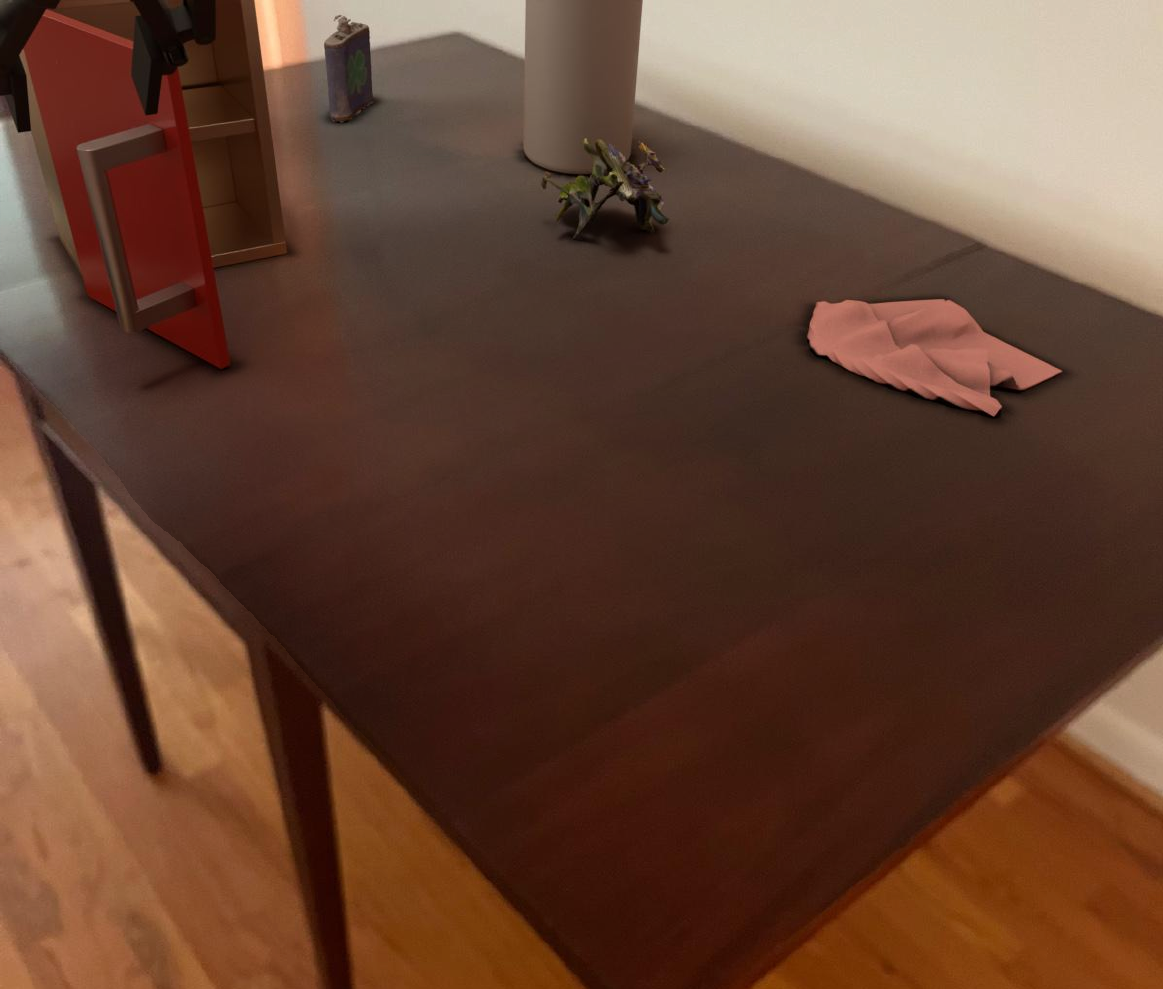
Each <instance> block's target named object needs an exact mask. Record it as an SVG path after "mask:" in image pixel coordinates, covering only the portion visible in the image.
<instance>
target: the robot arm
mask: <svg viewBox="0 0 1163 989" xmlns="http://www.w3.org/2000/svg"><path fill="white" fill-rule="evenodd" d="M130 1H131V2H132V1H133V3H134V4H135V6H136V8H137V9H138V11H139V12H140V14H141V16H135V27H134V41H133V54H132V67H131V76H132V79H133V82H134V85H135V88H136V90H137V93H138V96H139V99H140V102H141V104H142V107H143V110H144V113H145V116H146V115H153V114H157V113H158V105H159V97H160V89H161V81H162V75H170V74H173V73H174V72H175V71H176V70H177V67H180V66H183V65H185V64H186V63H187V62H188V56H187V54H186V51H185V48H184V45H183V44H184V43H186V42H188V41H190V40H194V39H195V42H196V43H197V44H199V45H207V44H210V43H212V42H213V41H214V40H215V38H216V2H215V0H181V3H182V6H179V7H176V8H172V9H170V6H169V4H168V2H167V1H166V0H130ZM59 2H60V0H0V97H2V96H4V98H5V101H6V104H7V106H8V109H9V112H10V114H11V118H12V120H13V123H14V125H15V128H16V131H17V133H20V134H21V133H27V132H31V123H30V111H29V99H28V88H27V76H26V72H25V70H24V67H23V64H22V61H21V59H20V56H19V55H20V53H21V51H22V50H23V48H24V46H25V45H26V43H27V41H28V40H29V38H30V36H31V34H32V33H33V31H34V29H35V28H36V26H37V24H38V22H39V21H40V19H41V17H42V16H43V14H44V12H45V10H46V9H47V8H48V9H55V8H56V7H57V5H58V4H59Z"/></svg>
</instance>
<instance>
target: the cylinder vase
mask: <svg viewBox="0 0 1163 989" xmlns="http://www.w3.org/2000/svg"><path fill="white" fill-rule="evenodd" d="M643 2H644V0H525V9H524V10H525V11H524V13H525V14H524V15H525V16H524V22H525V23H524V25H525V26H524V76H523V78H524V84H523V137H522V138H523V141H522V142H523V144H522V146H523V152H524V154H525V156H526V157H527V158H528V160H529V161H531V162H532V163H534V164H535V165H537V166H539V167H541V168H542V169H543V168H544V169H546V170H549V171H552V172H556V173H561V174H568V175H592V173H593V166H594V161H593V159H592V157H591V156H590V155H589V154H588V153H587V152H586V151H585V149H584V143H583V141H584V139H586V138H587V142H588V144H589V145H591V146H592V147H594V148H595V149H596V147H595V142H596V141H597V139H598V140H602V141H603V142H604V143H605V145H606V146H607V147H608V148H609V142H610V143H611V145H612V146H615V148H616V149H617V151H618V152H620V153H621V154H622V155H623V156H624V157H625V158H626V159H627V160H628V161H629V159H630V157H631V153H632V144H633V143H632V141H633V129H634V116H635V104H636V91H637V79H638V78H637V77H638V66H639V52H640V40H641V26H642V15H643Z"/></svg>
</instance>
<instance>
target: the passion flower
mask: <svg viewBox="0 0 1163 989" xmlns="http://www.w3.org/2000/svg"><path fill="white" fill-rule="evenodd" d="M583 143H584V149H585V151H586V152H587V153H588V154H589V155H590V156H591V157H592V159H593V161H594V166H593V173H592V174H589V178H588V176H586V175H578V176H577V177H576V178H575V179H574V180H573V181H567V182H565V184H563V185H562V186H561V185H558V184H557V183H556V182H555V181H554V180H551V177H552V174H551V173H550V172H548V171H545V172H543V176H542V181H541V183H540V185H541V188H542V190H546V189H547V184H548V183H550V184H551V185H553V186H554V187H555V188H556V189H558V190H560V192H559V196H558V199H557V202H558V203H559V204H562V203H563V201H565V202H564V204H563V206H562V208H560V209H559V211H558V212H557V214H556V219H555V222H559V220H561V218H562V217H563V215H564V214H565V213H566V212H567V211H568V209H570V208H571V207H573V205H574V204H577V205H578V206H579V216H578V224H577V225H578V226H577V229H576V231H575V234H574V235H573V237H572V239H573V240H575V239H576V238H577V237H578V236H579V235H580V233H581V231H582V230H583V229H584V228H585V226H586V227H587V226H588V225H589V224H590V223H591V222H593V221H594V220H595V218H596V217H597V216H598V214H597V213H598V211H599V210H600V209H601V208H602V207H603V205H604V204H605V203H606V201H607V200H609V199H610V198H612V197H614V196H618V199H619V200H620V201H621V202H624V201H626V202H627V203H628V205H631V206H633V207H634V211H635V218H636V219H635V220H636V223H637V225H638V226H639V229H640V230H643V231H647V232H650V233H651V234H653V233H654V232H655V229H654V227H653V224H652V219H653V220H654V221H655V222H656V223H657V224H658V225H661V226H664V225H666V224H668V221H669V220H670V218H669V217H668V216H667V215H665V213H663V212H662V211H661V210H662V208H663V207H664V205H665V202H664V199H663V197H662V194H660V193H659V191H658V190H655V189H654V187H653V186H651V184H650V183H649V182H652V178H650V177H647V175H644V172H643V170H644V169H645V168H646V167H648V166H652V167H654V169H655V170H656V171H657V172H659V173H663V171H664V172H665V171H666V169H665V168H664V167H663V165H662V163H661V161H660V159H659V158H658V157H657V153H656V152H655V151H654V150H652V149H651V147H649V146H648V145H647V144H646V143H644V142H642V141H641V140H638V141H637V146H638V148H639V150H640V151H641V153H642V154H643V156H644V158H645V159H644V160H643V161H642V163H640V164H632V163H631V162H630V161H629V159H628V160H627V159H626V158H625V157H624V156H623V155H622V154H621V153H620V152H618V151H617V149H616V148H615V146H612V145H611V143H610V142H609V148H608V147H607V146H606V145H605V143H604V142H603V141H602V140H598V139H597V141H596V142H595V147H596V149H595V148H594V147H592V146H591V145H589V144H588V142H587V138H586V139H584V141H583ZM603 185H604V186H606V187H608V188H610V189H609V192H608V193H607V194H606V195H605V196H604V197H603V198H601V199H600V200H599V201H598V202H595V199H596V197H597V194H598V191H599V189H600V188H599V187H600V186H603Z"/></svg>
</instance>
